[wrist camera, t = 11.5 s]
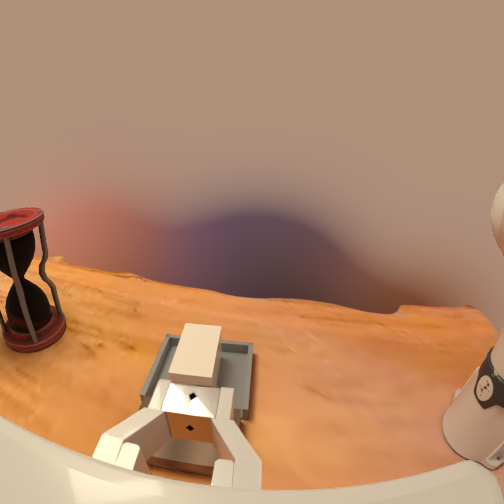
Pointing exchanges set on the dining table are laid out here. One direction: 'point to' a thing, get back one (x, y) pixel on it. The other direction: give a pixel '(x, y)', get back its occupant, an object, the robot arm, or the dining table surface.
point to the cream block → (197, 355)
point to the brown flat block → (187, 452)
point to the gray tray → (230, 374)
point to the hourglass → (27, 284)
